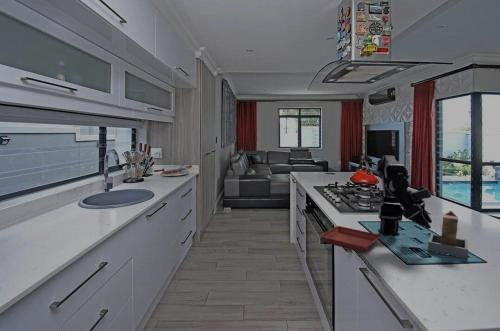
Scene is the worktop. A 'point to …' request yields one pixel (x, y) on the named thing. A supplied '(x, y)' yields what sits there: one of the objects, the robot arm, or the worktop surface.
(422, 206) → the robot arm
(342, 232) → the plant saucer
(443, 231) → the handle block
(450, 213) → the onion
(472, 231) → the worktop surface
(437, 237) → the box
